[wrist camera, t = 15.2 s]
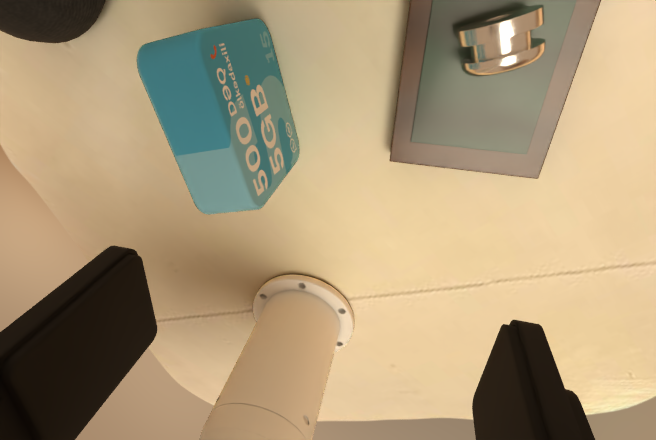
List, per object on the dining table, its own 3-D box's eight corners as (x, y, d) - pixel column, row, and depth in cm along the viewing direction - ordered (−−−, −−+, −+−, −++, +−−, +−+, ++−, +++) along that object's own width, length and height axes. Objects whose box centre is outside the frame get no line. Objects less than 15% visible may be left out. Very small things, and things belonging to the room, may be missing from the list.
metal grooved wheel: (533, 2, 25) (553, 6, 21) (536, 50, 27) (556, 62, 23) (453, 27, 27) (458, 34, 23) (460, 70, 28) (465, 85, 24)
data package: (302, 155, 37) (256, 217, 27) (260, 161, 38) (201, 223, 28) (266, 16, 31) (191, 30, 21) (218, 28, 33) (125, 48, 23)
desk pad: (532, 169, 33) (538, 180, 31) (391, 153, 35) (389, 162, 33) (640, -147, 23) (659, -159, 21) (430, -145, 25) (430, -155, 23)
